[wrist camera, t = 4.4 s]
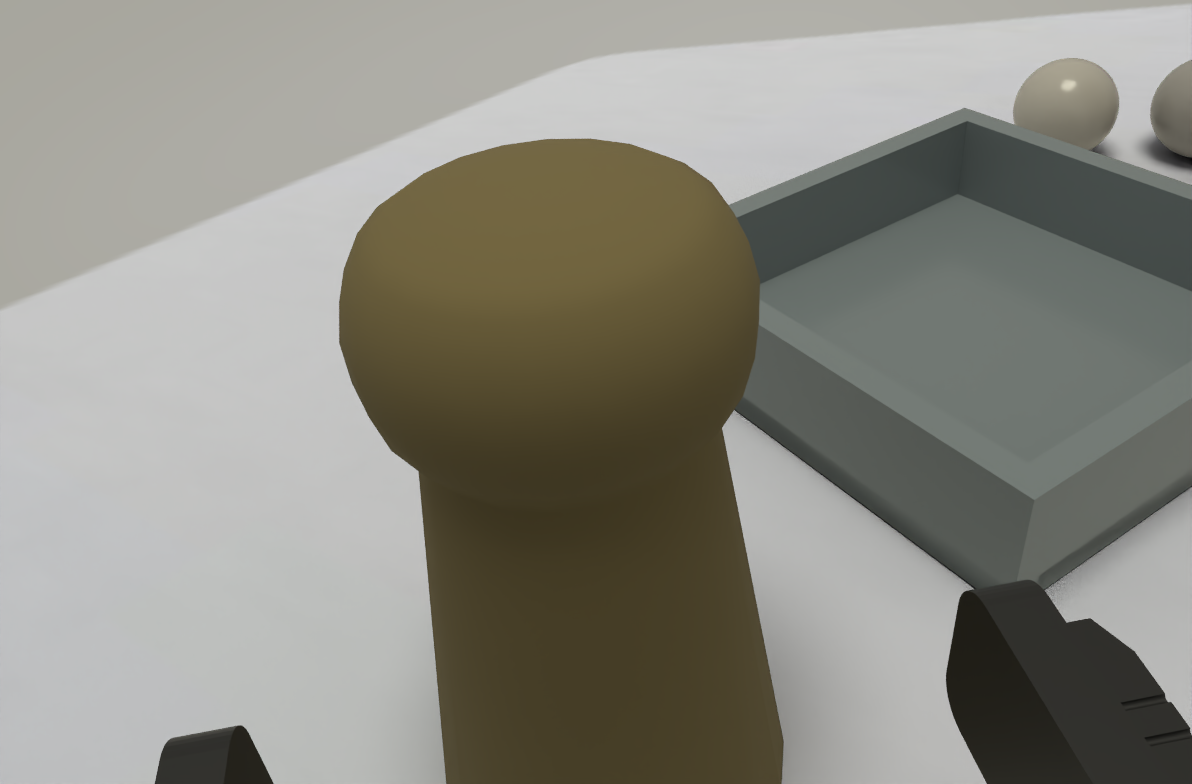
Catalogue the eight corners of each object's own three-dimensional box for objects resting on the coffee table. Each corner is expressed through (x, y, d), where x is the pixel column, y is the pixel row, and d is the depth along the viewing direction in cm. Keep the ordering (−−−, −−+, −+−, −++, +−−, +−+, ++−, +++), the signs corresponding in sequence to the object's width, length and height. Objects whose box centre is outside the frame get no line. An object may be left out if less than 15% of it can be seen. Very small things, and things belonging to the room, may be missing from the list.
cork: (709, 582, 21) (687, 56, 15) (846, 844, 17) (903, 243, 10) (421, 666, 20) (261, 140, 14) (481, 971, 16) (280, 393, 9)
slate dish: (641, 340, 29) (633, 244, 27) (954, 196, 34) (964, 108, 32) (1009, 613, 20) (1034, 499, 18) (1359, 367, 25) (1406, 258, 23)
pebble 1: (986, 153, 36) (999, 62, 34) (1048, 126, 37) (1063, 37, 35) (1066, 184, 34) (1085, 87, 32) (1129, 153, 35) (1150, 59, 33)
